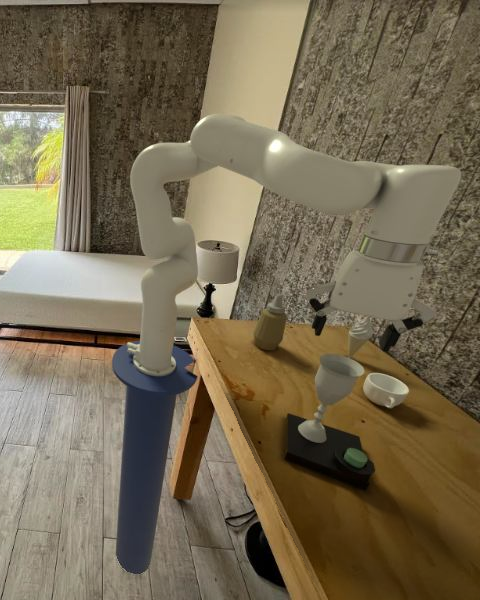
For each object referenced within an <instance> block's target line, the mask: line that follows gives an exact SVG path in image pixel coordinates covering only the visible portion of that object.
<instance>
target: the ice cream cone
mask: <svg viewBox="0 0 480 600" xmlns="http://www.w3.org/2000/svg"><path fill="white" fill-rule="evenodd" d="M350 328H351V329H350V330H349V331H348V332H347V334H348V339H347V341H348V343H347V345H348V346H347V357H348V358H350V359H352V357H353V356H354V355H355V354H357V352H358V351H360V349H361V348H362V347H363V346H364V345H365V344H366V343H367V342H368V341H370V340H371V338H373V335H374V330H373V329H372V323H371V317H369V316H364V318H363V319H361V320H359V321H358V323H357V324H354V326H351V327H350Z"/></svg>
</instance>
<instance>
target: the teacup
mask: <svg viewBox="0 0 480 600" xmlns="http://www.w3.org/2000/svg"><path fill="white" fill-rule="evenodd" d="M362 390H363V394H364V395H365V397H366V398H367V399H368V400H369V401H370V402H372V403H374V404H376V405H378V406H381V407H386V408H387V409H393V408H394V407H397V406H399V405H400V404H402V403H403V402H404V401H405V399H406V398H407V397H408V395H409V393H410V389H409V387H408V386H407V385H406V384H405V383H404V382H402V381H401V380H399V379H397V378H396V377H394V376H390V375H388V374H384V373H380V372H371V373H369V374H368V375H367V376H366V377H365V380H364V382H363V386H362Z"/></svg>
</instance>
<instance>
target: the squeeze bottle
mask: <svg viewBox="0 0 480 600" xmlns="http://www.w3.org/2000/svg"><path fill="white" fill-rule="evenodd" d="M285 311H286V306H285V304H283V294H282V293H277V295H276V296H275V298H274V299H273V301H272V302H268V303H267V306H266V308H264V309H263V310H262V311H261V313H260V316H259V318H258V320H257V323H256V325H255V327H254V331H253V338H254V344H255V346H256V347H258V348H259V349H261V350H264V351H274V350H276V349H277V347H278V346H279V345H280V344H281V343H282V342H283V340H284V334H285V328H286V323H287V318H288V315H287V314H286V313H285Z"/></svg>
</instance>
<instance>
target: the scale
mask: <svg viewBox="0 0 480 600" xmlns="http://www.w3.org/2000/svg"><path fill="white" fill-rule="evenodd" d="M306 420H309V419H307V418H304V417H302V416H299V415H296V414H292V413H289V412H287V414H286V416H285V420H284V449H283V450H284V453H283V455H284V457H283V459H284V460H286V461H288V462H291V463H293V464H295V465H299V466H301V467H303V468H306V469H309V470H310V471H314V472H317V473H319V474H322V475H324V476H327V477H329V478H332V479H334V480H337V481H339V482H342V483H344V484H347V485H350V486H352V487H354V488H357V489H360V490H363V491H367V490H368V488H369V486H370V484H371V481H370V479H372V477H373V476H374V474H375V472H376V467H375V464H374V462H373V461H372V460H371V459H370V458H369V457H368V456H367V455H366V457H367V462H366V464H365V465H364V467H363V468H357V467H354V466H352V465H351V464H349V463H348V462H346V460H345V459H344V455H345V453H346V451H347V449H349V448H354V449H357V450H359V451H361V452H363V453H364V451H363V446H362V442H361V437H360V435H356V434H353V433H351V432H347V431H344V430H341V429H338V428H336V427H332V426H328V425H325V424H322V423H321V424H322V425H323V427H324V428H325V433H326V438H327V439H326V441H325V442H322V443H317V442H313V441H310V440H308V439H307V438H305V437H304V436H303V435H302V434H301V433H300V432H299V430H298V427H299V425H300V424H302V423H303V422H305V421H306Z"/></svg>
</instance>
